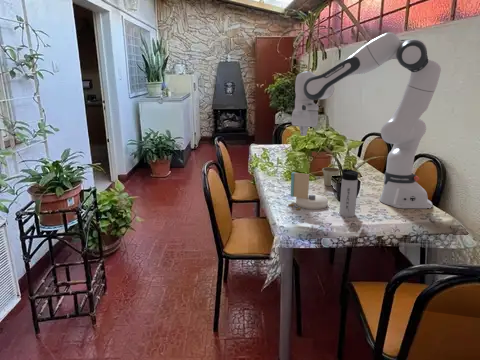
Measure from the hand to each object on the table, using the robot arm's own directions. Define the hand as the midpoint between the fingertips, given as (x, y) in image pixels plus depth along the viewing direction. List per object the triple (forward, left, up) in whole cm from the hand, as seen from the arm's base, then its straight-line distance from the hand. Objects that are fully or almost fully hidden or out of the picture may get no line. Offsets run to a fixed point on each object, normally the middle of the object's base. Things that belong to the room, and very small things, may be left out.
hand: (303, 135), depth 180 cm
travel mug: (-21, +30, -29) cm, 47 cm away
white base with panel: (-5, +21, -28) cm, 35 cm away
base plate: (-6, +21, -29) cm, 37 cm away
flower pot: (-14, -17, -29) cm, 37 cm away
